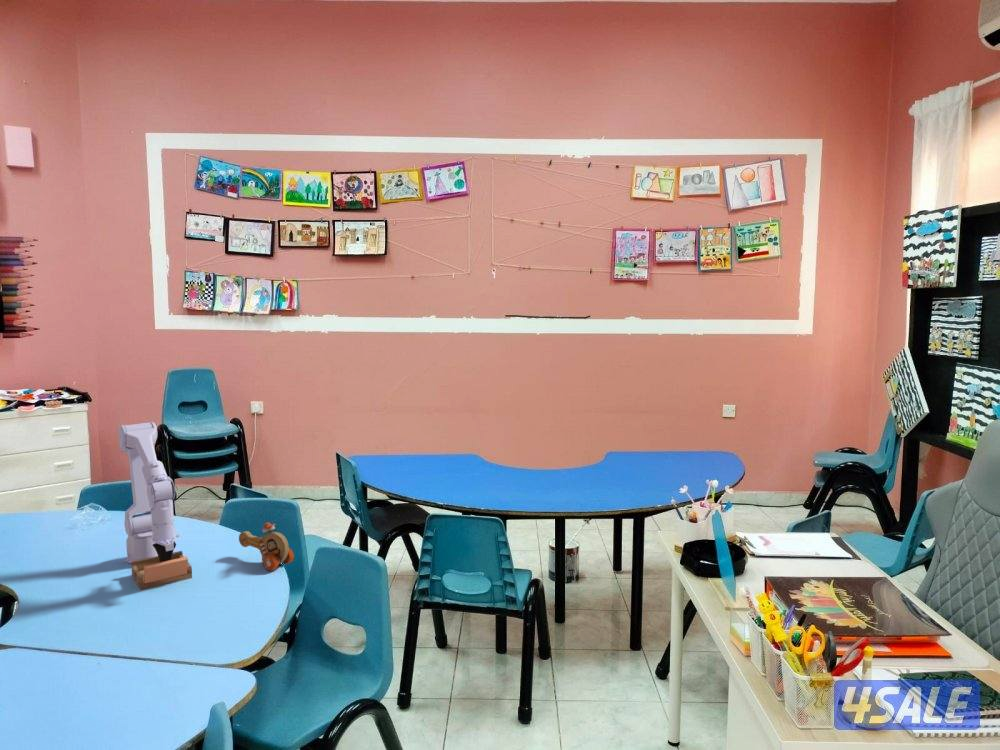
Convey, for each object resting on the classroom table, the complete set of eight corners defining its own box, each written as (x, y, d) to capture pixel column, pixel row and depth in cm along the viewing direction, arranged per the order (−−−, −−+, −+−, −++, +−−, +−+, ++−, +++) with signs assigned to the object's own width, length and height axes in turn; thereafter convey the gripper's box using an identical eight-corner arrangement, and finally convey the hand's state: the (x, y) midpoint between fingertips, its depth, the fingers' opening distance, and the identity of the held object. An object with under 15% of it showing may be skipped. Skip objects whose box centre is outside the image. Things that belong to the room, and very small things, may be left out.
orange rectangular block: (143, 580, 198) (144, 566, 196) (186, 570, 205) (186, 556, 203) (144, 583, 197) (144, 568, 195) (187, 573, 204) (188, 559, 202)
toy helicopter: (276, 573, 209) (275, 530, 207) (230, 559, 219) (228, 517, 217) (297, 564, 216) (295, 521, 214) (251, 550, 226) (249, 510, 224)
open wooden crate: (132, 576, 206) (131, 561, 206) (182, 564, 215) (181, 550, 214) (140, 590, 197) (139, 575, 196) (192, 577, 205) (191, 563, 205)
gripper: (184, 526, 195) (186, 571, 197) (172, 512, 206) (174, 555, 208) (156, 531, 191) (159, 578, 193) (146, 517, 202) (149, 561, 204)
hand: (165, 567), depth 200 cm, fingers closed, pressing on orange rectangular block
